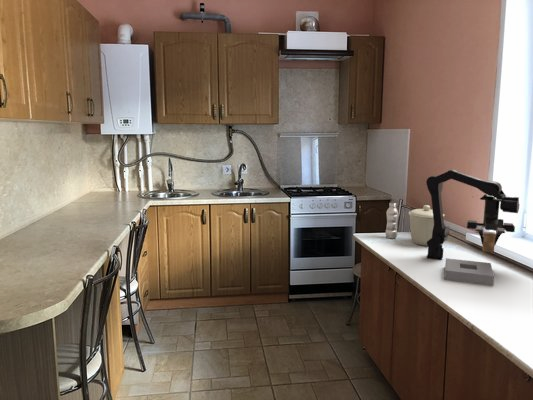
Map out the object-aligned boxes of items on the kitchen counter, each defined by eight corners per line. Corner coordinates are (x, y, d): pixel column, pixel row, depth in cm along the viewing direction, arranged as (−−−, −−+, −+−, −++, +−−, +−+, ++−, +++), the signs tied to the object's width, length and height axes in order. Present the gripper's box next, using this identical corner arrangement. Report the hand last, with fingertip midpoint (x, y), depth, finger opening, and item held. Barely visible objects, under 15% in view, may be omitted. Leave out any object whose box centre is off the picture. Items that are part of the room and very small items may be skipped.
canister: (412, 237, 250) (415, 201, 246) (446, 242, 239) (449, 204, 236) (402, 244, 235) (404, 205, 232) (437, 250, 225) (439, 209, 221)
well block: (444, 279, 182) (445, 270, 181) (445, 266, 198) (445, 258, 198) (493, 285, 175) (494, 276, 174) (489, 271, 192) (490, 263, 191)
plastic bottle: (391, 240, 244) (392, 204, 241) (382, 237, 250) (384, 202, 247) (399, 238, 247) (401, 203, 244) (391, 236, 253) (393, 201, 250)
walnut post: (482, 251, 196) (484, 233, 194) (482, 248, 200) (483, 231, 198) (493, 252, 194) (495, 234, 193) (493, 249, 198) (494, 232, 197)
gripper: (468, 212, 190) (466, 247, 193) (518, 215, 183) (514, 251, 186) (467, 207, 200) (465, 241, 203) (514, 210, 193) (511, 245, 196)
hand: (488, 244), depth 196 cm, fingers closed on walnut post, 4 cm apart
